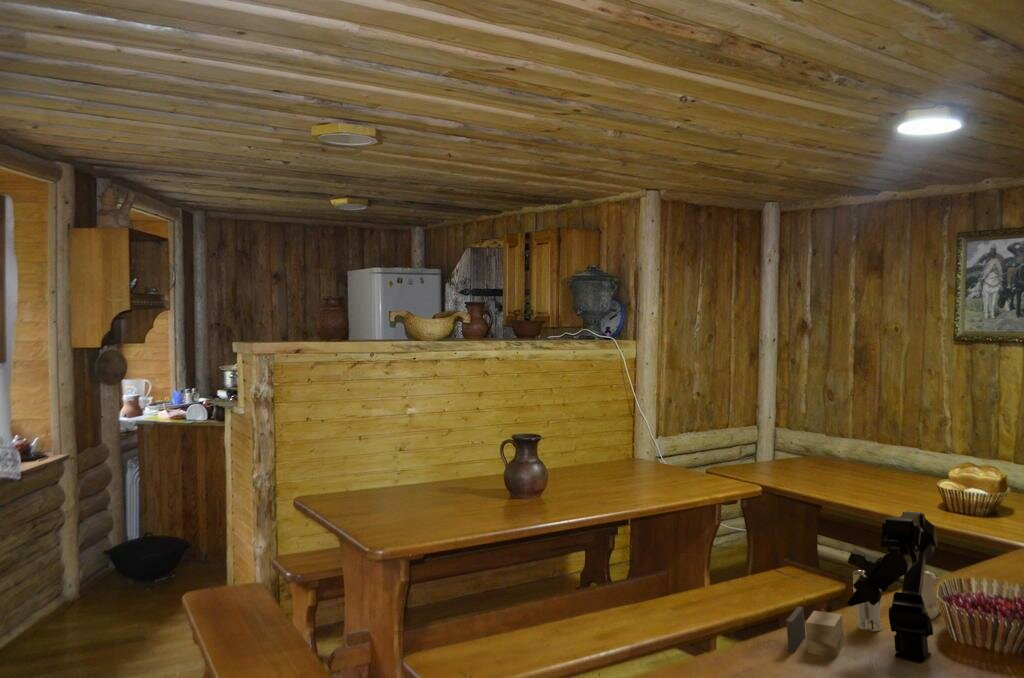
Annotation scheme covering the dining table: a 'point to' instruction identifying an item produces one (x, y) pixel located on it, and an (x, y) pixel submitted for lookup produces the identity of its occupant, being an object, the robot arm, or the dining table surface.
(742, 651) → the dining table surface
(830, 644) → the maple block
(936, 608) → the sitting furry creature
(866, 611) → the beer glass
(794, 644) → the backstop board
